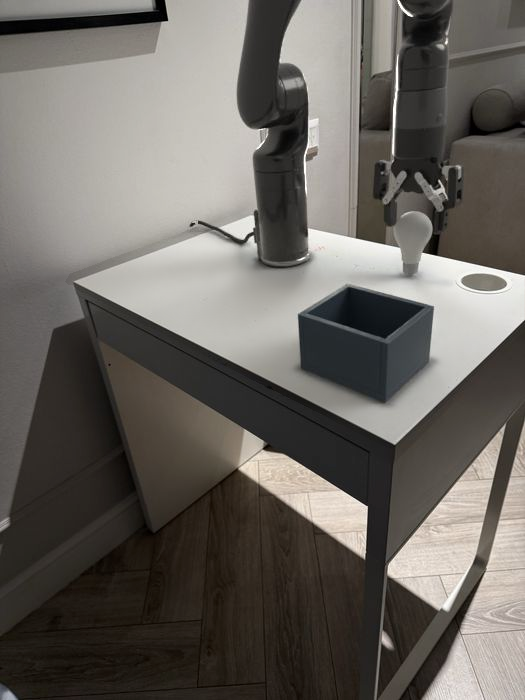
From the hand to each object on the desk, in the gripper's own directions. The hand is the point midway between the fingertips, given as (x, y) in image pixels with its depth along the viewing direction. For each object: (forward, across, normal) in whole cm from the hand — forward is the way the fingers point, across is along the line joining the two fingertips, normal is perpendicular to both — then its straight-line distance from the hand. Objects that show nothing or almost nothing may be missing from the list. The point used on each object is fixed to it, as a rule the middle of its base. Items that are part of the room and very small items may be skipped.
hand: (414, 229), depth 85 cm
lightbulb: (+8, 0, 0) cm, 9 cm away
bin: (+8, -9, +28) cm, 30 cm away
